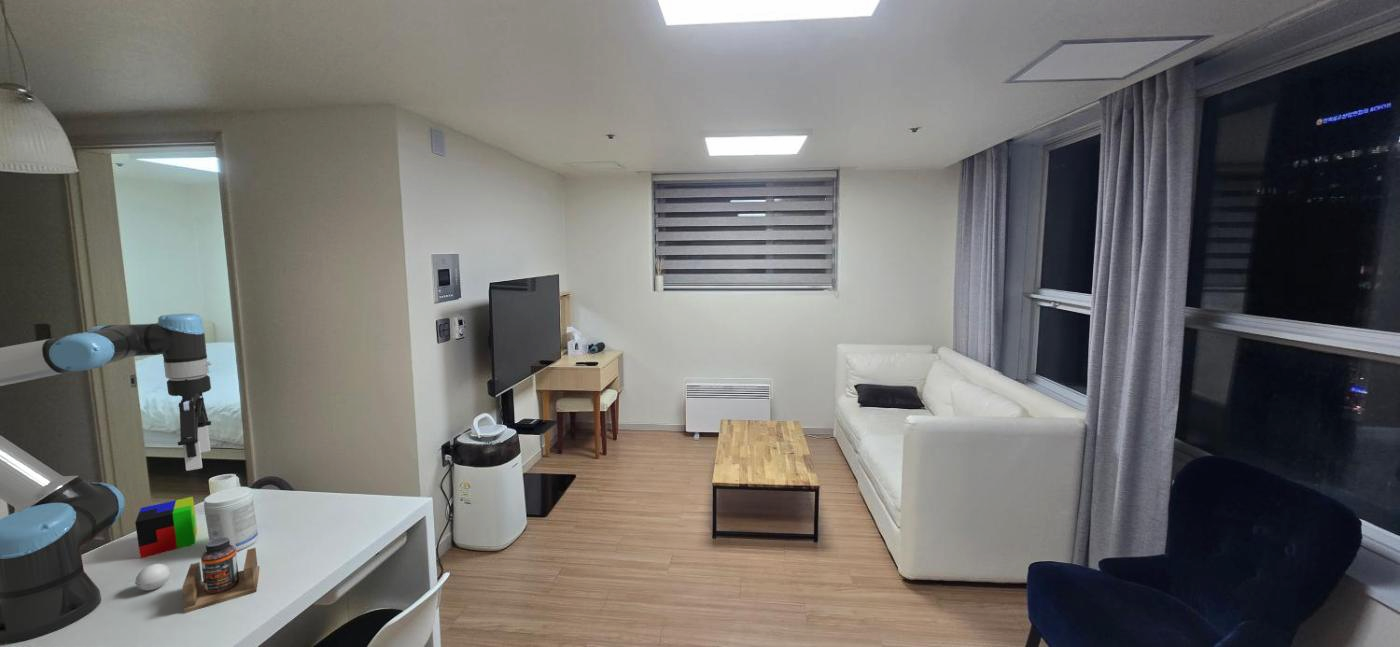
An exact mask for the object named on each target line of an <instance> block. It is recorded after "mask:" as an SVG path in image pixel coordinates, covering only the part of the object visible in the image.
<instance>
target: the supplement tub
mask: <svg viewBox="0 0 1400 647" xmlns="http://www.w3.org/2000/svg"><path fill="white" fill-rule="evenodd" d="M203 507H204V508H203V509H204V514H205V522H206V528H207V534H208V540H209V541H211V540H213V539H217V538H220V537H228V538H229V542H230V545H233V546H235V548H236V552H238V551H241V550H243V549H247V548H249V547H250V546H252V545H253V544H254V543H255V542H257V540H258V538H259V533H258V532H259V531H258V524H257V519H256V512H255V504H254V496H253V493H252V488H250V487H248V486H236V487H229V488H226V489H222V490H219V491H216V492H213V493H210V494H209V495H208V496H207V497H205V498H204V499H203ZM209 541H208V542H209Z"/></svg>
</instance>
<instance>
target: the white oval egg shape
mask: <svg viewBox="0 0 1400 647" xmlns="http://www.w3.org/2000/svg"><path fill="white" fill-rule="evenodd" d="M170 576H171V570H170V567H169V566H167V565H166V564H162V563H154V564H151V565H148V566H146V567H144V568H143V569H141V570H140V571H139V572H138V574H137V576H136V577H135V582H134V583H135V585H136V587H137V588H139V589H140V590H141V591H142V590H143V591H154V590H156V589H159V588H160V587H162V586H164V585H165V584H166V583H167V582H168V581H169V579H170ZM132 581H134V579H133V580H131V582H132ZM128 582H130V581H125V582H124V584H125V583H128Z"/></svg>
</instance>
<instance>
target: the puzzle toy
mask: <svg viewBox="0 0 1400 647" xmlns="http://www.w3.org/2000/svg"><path fill="white" fill-rule="evenodd" d="M135 530H136V536H137V543H138V549H139V557H140V559H144V558H148V557H152V556H156V555H160V554H163V553H167V552H170V551H171V552H172V551H174V550H178V549H182V548H186V547H189V546H194V545H196V539H197V532H198V527H197V519H196V511H195V501H194V497H193V496H190V497H189V496H188V497H185V498H180V499H175V500H172V501H171V500H170V501H167V502H162V503H157V504H151V505H149V506H145V507H144V506H143V507H141V508H140V509H139V512H138V515H137V517H136V520H135Z"/></svg>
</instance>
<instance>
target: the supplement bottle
mask: <svg viewBox="0 0 1400 647" xmlns="http://www.w3.org/2000/svg"><path fill="white" fill-rule="evenodd" d="M200 560H201V570H202V571H201V573H202V579H203V580H202V582H203V581H204V589H205V592H207V593H211V594H213V593H219V592H223V591H226V590H228V589H230V588H232V587H233V586H235V585H236V584H237V583H238V581H239V575H238V572H239V567H238V558H237V551H236V548H235V546H233V545H230V542H229V538H228V537H220V538H217V539H213V540H211V541H208V542H207V543H206V544H205V552H203V553H202V555H201V557H200Z"/></svg>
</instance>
